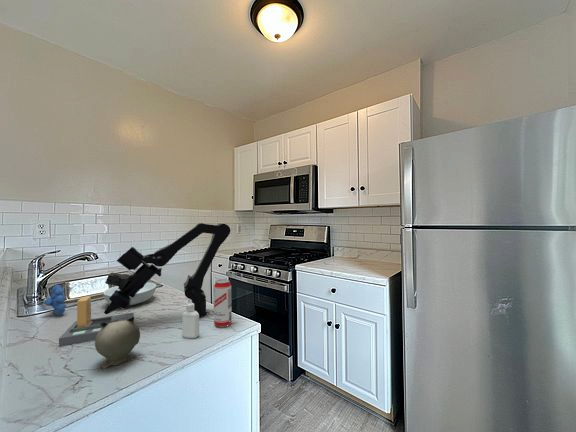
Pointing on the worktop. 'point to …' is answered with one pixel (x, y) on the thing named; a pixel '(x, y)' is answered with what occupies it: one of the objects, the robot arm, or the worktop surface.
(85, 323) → the switch tab
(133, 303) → the serving bowl
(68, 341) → the switch housing
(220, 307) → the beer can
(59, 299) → the grapes
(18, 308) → the worktop surface
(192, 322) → the eye dropper bottle
